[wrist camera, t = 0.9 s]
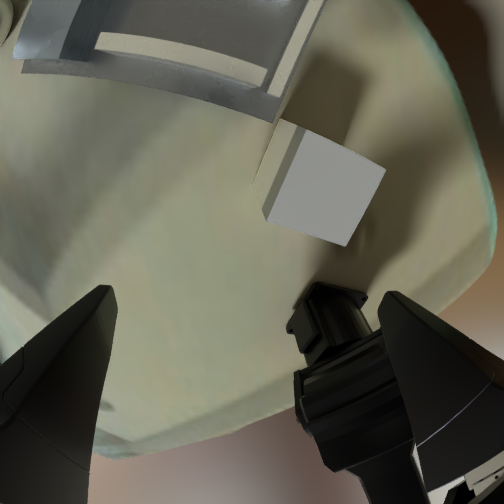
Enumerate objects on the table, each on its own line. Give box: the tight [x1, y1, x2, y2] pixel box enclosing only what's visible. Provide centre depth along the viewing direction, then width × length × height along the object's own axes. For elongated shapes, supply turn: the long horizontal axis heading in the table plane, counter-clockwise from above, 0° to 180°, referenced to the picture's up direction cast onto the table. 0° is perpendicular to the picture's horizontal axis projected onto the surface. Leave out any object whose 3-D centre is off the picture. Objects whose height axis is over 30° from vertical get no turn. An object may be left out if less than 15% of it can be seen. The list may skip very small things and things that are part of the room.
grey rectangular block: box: [253, 118, 386, 247], centre depth 16 cm, size 5×5×6 cm
